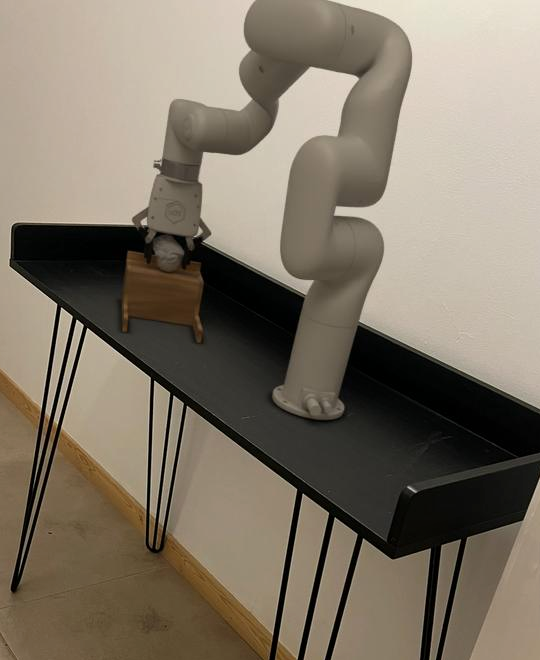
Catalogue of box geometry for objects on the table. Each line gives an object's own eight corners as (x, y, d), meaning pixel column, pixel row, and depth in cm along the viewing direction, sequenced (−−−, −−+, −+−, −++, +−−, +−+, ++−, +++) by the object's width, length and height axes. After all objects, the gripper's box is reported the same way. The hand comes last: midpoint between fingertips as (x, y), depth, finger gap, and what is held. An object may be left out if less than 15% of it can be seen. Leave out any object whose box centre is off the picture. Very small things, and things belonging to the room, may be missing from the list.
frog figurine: (158, 264, 173) (163, 229, 170) (187, 273, 171) (193, 239, 168) (142, 268, 168) (147, 232, 165) (172, 277, 166) (178, 242, 163)
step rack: (200, 343, 163) (210, 289, 158) (122, 331, 160) (129, 277, 155) (192, 311, 180) (200, 262, 175) (121, 300, 177) (127, 250, 172)
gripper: (135, 166, 156) (123, 263, 164) (226, 183, 159) (210, 277, 168) (134, 160, 162) (122, 253, 171) (222, 176, 166) (206, 267, 174)
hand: (166, 264), depth 169 cm, fingers closed on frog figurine, 6 cm apart
